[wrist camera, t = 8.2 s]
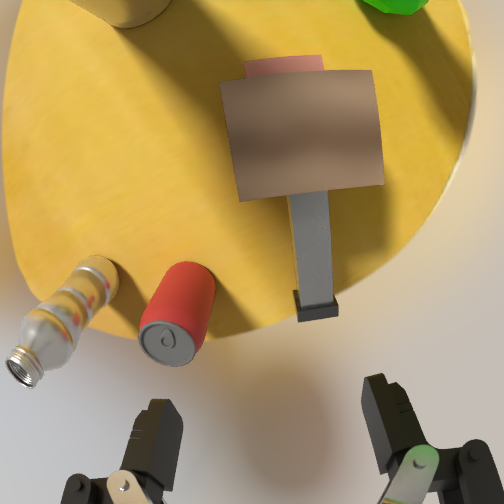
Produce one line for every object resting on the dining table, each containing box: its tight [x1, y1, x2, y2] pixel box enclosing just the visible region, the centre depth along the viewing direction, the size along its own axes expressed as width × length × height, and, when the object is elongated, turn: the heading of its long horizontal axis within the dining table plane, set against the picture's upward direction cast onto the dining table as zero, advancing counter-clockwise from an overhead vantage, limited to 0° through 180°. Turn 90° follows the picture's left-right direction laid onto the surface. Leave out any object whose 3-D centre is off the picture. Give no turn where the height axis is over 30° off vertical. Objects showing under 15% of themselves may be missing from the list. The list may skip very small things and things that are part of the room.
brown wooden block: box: [219, 70, 384, 202], centre depth 23 cm, size 8×10×13 cm
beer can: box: [138, 261, 216, 367], centre depth 30 cm, size 7×7×12 cm
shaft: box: [286, 190, 338, 322], centre depth 24 cm, size 18×4×4 cm, turn 9°
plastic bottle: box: [5, 255, 119, 389], centre depth 27 cm, size 6×7×20 cm
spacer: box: [244, 55, 324, 78], centre depth 24 cm, size 2×7×7 cm, turn 99°
